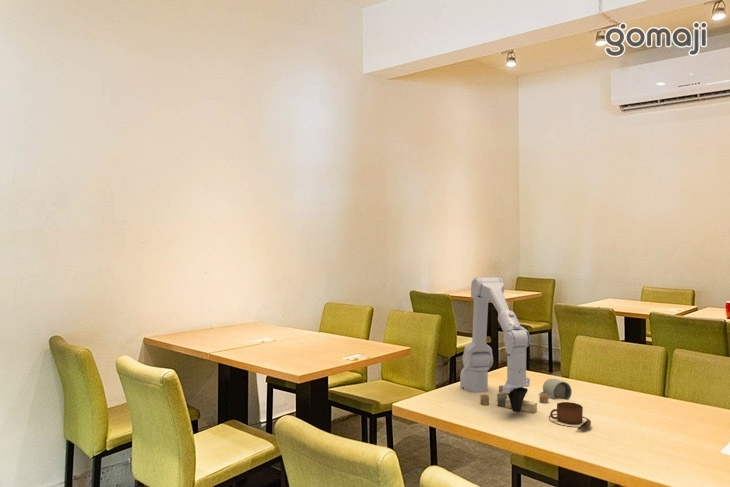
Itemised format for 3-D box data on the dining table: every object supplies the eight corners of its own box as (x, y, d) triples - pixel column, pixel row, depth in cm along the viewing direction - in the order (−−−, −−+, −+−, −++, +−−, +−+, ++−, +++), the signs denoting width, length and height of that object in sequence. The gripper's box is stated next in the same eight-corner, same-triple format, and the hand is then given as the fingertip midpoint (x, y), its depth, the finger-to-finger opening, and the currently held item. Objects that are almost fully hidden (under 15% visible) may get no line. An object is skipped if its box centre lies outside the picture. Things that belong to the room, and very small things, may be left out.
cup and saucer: (571, 435, 156) (571, 414, 156) (540, 423, 167) (540, 403, 167) (599, 429, 162) (600, 408, 162) (567, 417, 172) (568, 397, 172)
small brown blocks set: (477, 408, 180) (477, 396, 180) (500, 396, 194) (500, 384, 194) (530, 420, 168) (530, 406, 168) (550, 406, 183) (550, 393, 183)
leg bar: (495, 405, 178) (496, 397, 178) (500, 403, 181) (500, 395, 181) (533, 413, 170) (533, 404, 170) (537, 411, 173) (537, 402, 173)
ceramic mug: (558, 395, 195) (558, 375, 195) (572, 402, 187) (572, 381, 187) (533, 398, 192) (533, 377, 192) (546, 405, 184) (545, 383, 184)
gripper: (517, 374, 161) (517, 419, 162) (538, 366, 172) (538, 408, 172) (496, 370, 166) (496, 414, 166) (518, 362, 177) (517, 403, 177)
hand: (516, 411), depth 170 cm, fingers closed
